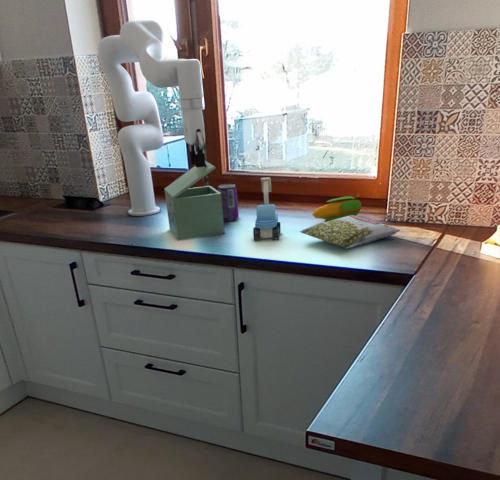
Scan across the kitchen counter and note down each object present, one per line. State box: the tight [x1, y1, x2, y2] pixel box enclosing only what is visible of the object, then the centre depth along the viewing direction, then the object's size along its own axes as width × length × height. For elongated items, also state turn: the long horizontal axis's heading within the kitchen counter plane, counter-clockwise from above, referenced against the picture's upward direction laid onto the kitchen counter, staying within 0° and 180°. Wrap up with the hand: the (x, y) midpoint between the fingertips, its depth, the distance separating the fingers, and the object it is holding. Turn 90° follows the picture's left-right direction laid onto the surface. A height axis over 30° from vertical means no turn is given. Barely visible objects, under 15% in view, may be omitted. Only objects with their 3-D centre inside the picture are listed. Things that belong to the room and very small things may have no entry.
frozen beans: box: [298, 215, 401, 250], centre depth 185 cm, size 21×6×25 cm
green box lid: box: [163, 155, 216, 199], centre depth 194 cm, size 17×14×5 cm
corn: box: [311, 195, 363, 223], centre depth 206 cm, size 7×8×20 cm
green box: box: [164, 185, 225, 241], centre depth 201 cm, size 16×14×13 cm
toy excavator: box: [252, 177, 282, 241], centre depth 192 cm, size 9×17×17 cm, turn 174°
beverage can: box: [217, 183, 240, 222], centre depth 213 cm, size 7×7×12 cm
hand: (198, 164), depth 194 cm, fingers closed on green box lid, 5 cm apart
